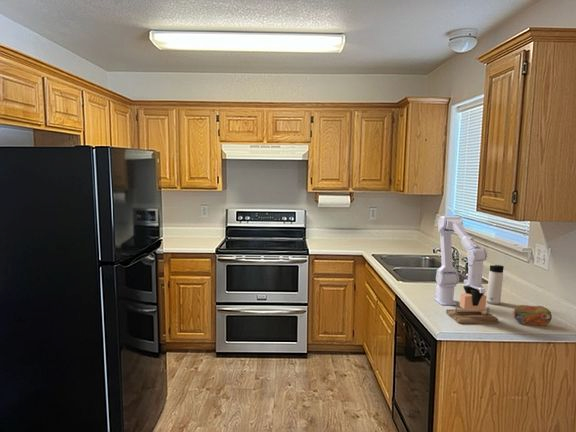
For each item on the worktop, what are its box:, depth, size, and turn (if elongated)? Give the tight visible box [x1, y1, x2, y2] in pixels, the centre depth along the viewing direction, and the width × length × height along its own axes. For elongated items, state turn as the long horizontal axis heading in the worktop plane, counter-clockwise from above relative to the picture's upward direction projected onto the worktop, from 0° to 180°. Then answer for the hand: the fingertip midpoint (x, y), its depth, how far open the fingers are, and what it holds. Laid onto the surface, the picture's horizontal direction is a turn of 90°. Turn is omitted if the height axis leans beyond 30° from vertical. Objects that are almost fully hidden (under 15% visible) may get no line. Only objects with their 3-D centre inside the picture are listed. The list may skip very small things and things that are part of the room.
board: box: [445, 306, 499, 325], centre depth 186 cm, size 12×18×5 cm, turn 95°
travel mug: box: [486, 264, 505, 306], centre depth 207 cm, size 6×7×20 cm
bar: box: [459, 292, 487, 310], centre depth 185 cm, size 10×4×6 cm, turn 95°
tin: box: [513, 304, 553, 327], centre depth 181 cm, size 15×3×8 cm, turn 81°
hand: (472, 303), depth 185 cm, fingers closed on bar, 4 cm apart
